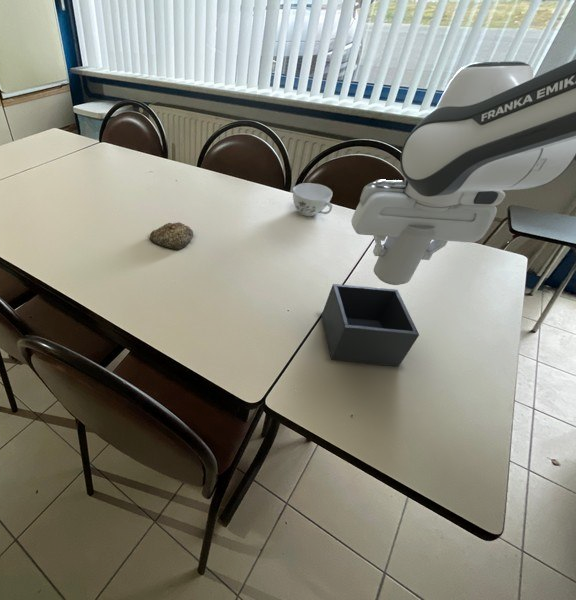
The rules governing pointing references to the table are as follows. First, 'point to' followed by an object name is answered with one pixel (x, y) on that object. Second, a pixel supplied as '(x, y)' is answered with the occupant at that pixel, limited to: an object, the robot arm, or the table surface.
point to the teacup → (312, 198)
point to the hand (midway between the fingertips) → (400, 256)
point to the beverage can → (403, 255)
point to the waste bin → (367, 325)
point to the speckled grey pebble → (172, 235)
